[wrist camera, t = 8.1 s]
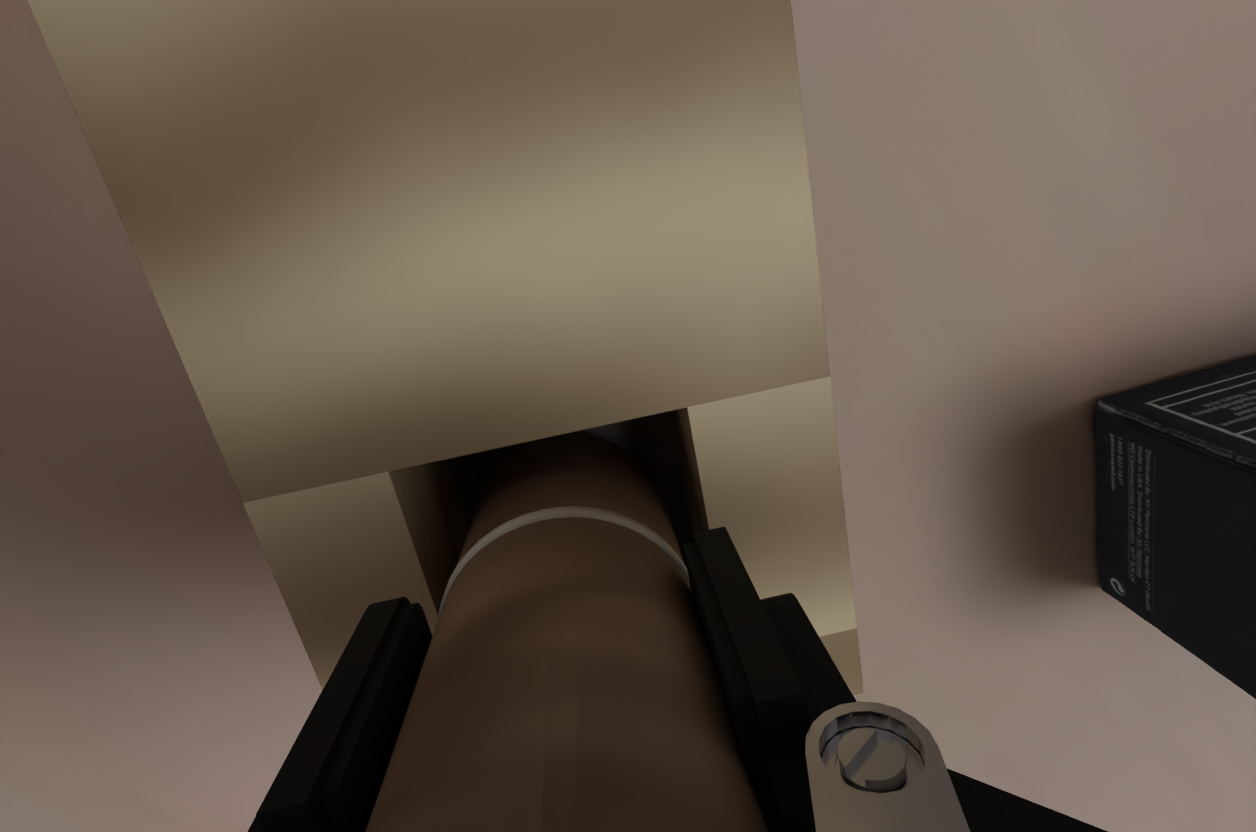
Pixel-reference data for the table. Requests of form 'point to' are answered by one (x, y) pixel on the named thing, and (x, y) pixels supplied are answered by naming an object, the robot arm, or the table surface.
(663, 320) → the board
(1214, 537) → the small box
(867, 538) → the table surface
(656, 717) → the peg
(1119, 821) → the table surface
